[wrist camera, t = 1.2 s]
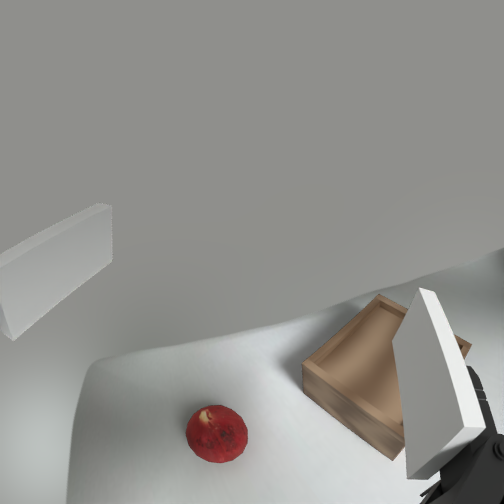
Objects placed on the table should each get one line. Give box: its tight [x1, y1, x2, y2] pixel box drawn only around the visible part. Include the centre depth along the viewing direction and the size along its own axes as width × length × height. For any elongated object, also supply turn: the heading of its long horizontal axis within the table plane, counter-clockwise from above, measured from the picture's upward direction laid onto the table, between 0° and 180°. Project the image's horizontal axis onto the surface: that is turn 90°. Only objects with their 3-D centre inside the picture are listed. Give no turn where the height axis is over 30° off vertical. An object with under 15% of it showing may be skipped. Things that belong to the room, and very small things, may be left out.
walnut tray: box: [302, 294, 472, 461], centre depth 29 cm, size 13×13×6 cm
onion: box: [186, 405, 248, 463], centre depth 26 cm, size 6×6×8 cm
